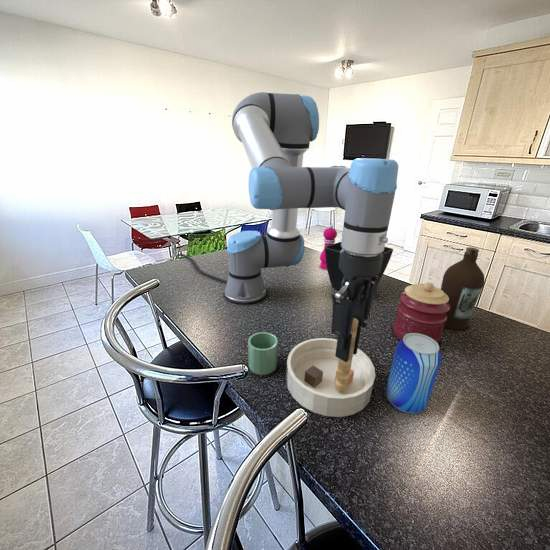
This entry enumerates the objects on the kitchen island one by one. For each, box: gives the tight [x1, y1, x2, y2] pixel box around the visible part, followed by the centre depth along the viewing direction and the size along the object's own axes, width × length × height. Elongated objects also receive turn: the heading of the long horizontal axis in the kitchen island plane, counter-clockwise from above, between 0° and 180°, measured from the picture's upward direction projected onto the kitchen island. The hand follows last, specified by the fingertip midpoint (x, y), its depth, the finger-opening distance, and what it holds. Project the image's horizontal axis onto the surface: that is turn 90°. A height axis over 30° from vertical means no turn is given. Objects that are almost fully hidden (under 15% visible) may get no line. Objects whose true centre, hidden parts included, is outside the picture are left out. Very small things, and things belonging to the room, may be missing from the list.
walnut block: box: [304, 366, 323, 388], centre depth 68 cm, size 3×3×3 cm
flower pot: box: [325, 241, 394, 291], centre depth 113 cm, size 19×19×17 cm
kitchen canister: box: [392, 281, 450, 344], centre depth 84 cm, size 13×13×18 cm
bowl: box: [285, 337, 376, 418], centre depth 68 cm, size 20×20×6 cm
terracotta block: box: [335, 370, 354, 385], centre depth 68 cm, size 3×3×3 cm
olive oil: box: [440, 246, 485, 331], centre depth 90 cm, size 11×11×25 cm
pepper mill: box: [319, 224, 338, 270], centre depth 131 cm, size 7×7×20 cm
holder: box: [247, 331, 279, 376], centre depth 72 cm, size 7×7×8 cm
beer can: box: [385, 333, 443, 414], centre depth 61 cm, size 8×8×16 cm
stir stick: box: [335, 318, 358, 393], centre depth 62 cm, size 3×3×18 cm
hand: (346, 354), depth 62 cm, fingers closed on stir stick, 3 cm apart
